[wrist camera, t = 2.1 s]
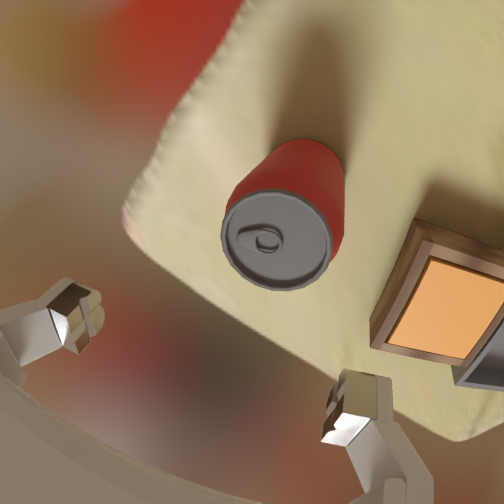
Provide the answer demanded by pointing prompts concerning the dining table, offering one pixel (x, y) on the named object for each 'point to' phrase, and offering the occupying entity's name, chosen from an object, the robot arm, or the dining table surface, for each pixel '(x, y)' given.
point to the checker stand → (408, 271)
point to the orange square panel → (448, 309)
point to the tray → (485, 365)
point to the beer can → (286, 217)
